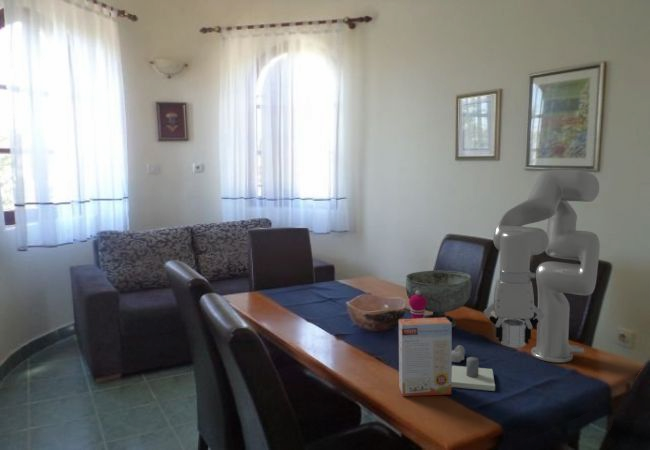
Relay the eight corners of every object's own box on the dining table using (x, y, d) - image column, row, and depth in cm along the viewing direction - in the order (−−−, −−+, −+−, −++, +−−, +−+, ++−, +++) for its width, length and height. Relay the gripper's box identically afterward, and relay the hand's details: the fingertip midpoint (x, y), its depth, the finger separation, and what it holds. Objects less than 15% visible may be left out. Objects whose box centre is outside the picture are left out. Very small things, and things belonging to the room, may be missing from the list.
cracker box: (446, 386, 146) (447, 316, 143) (451, 395, 140) (453, 323, 137) (398, 387, 146) (398, 317, 143) (402, 397, 140) (402, 324, 137)
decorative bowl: (472, 336, 185) (472, 282, 183) (402, 332, 191) (401, 281, 190) (471, 317, 210) (470, 270, 209) (409, 314, 217) (408, 269, 215)
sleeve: (523, 339, 140) (524, 319, 139) (526, 348, 134) (527, 326, 133) (500, 338, 142) (500, 317, 141) (501, 346, 136) (502, 325, 135)
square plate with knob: (492, 373, 154) (492, 353, 153) (494, 391, 142) (495, 369, 142) (451, 370, 157) (452, 350, 156) (451, 386, 145) (451, 365, 145)
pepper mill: (427, 349, 174) (428, 293, 171) (406, 348, 175) (407, 292, 173) (427, 342, 181) (428, 288, 178) (407, 341, 182) (407, 287, 180)
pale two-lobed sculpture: (456, 368, 161) (443, 360, 164) (468, 360, 167) (455, 352, 170) (460, 357, 160) (447, 349, 163) (472, 349, 166) (458, 341, 169)
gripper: (546, 274, 137) (544, 337, 139) (480, 272, 141) (479, 333, 144) (551, 281, 129) (549, 348, 132) (481, 279, 134) (480, 343, 136)
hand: (512, 340), depth 138 cm, fingers closed on sleeve, 6 cm apart
